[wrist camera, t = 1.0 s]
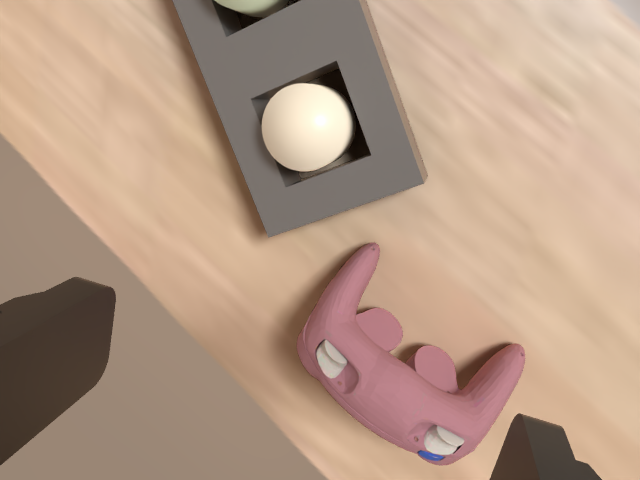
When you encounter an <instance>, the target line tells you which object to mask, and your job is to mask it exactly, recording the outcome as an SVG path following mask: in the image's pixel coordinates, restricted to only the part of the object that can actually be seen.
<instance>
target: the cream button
mask: <svg viewBox="0 0 640 480" xmlns="http://www.w3.org/2000/svg"><path fill="white" fill-rule="evenodd" d="M355 130H356V120H355V115H354V111H353V109H352V107H351V105H350V103H349V101H348V100H347V99H346V98H345V97H344V96H343V95H342V94H341V93H340V92H339V91H337V90H335V89H334V88H331V87H329V86H325V85H318V84H306V83H299V84H293V85H290V86H287V87H285V88H283V89H281V90H280V91H278V92H277V93H276V94H275V95H274V96H273V97H272V98H271V100H270V101H269V102H268V104H267V106H266V108H265V110H264V114H263V118H262V135H263V139H264V142H265V145H266V147H267V149H268V151H269V152H270V154H271V155H272V156H273V158H274V159H275V160H277V161H278V162H279V163H280V164H282V165H283V166H285V167H287V168H289V169H292V170H296V171H313V170H316V169H319V168H321V167H323V166H325V165H327V164H330V163H332V162H334V161H336V160H337V159H339V158H340V157H341V156H343V155H344V154H345V153H346V151H347V150H348V149H349V147H350V146H351V144H352V142H353V139H354V136H355Z"/></svg>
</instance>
